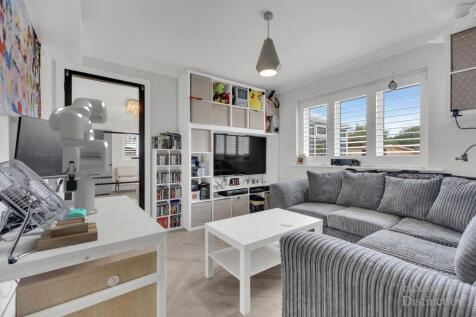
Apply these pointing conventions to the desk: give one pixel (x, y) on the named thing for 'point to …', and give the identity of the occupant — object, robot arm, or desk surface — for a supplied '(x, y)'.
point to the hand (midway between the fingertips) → (71, 189)
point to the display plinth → (67, 239)
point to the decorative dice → (76, 213)
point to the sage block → (71, 191)
